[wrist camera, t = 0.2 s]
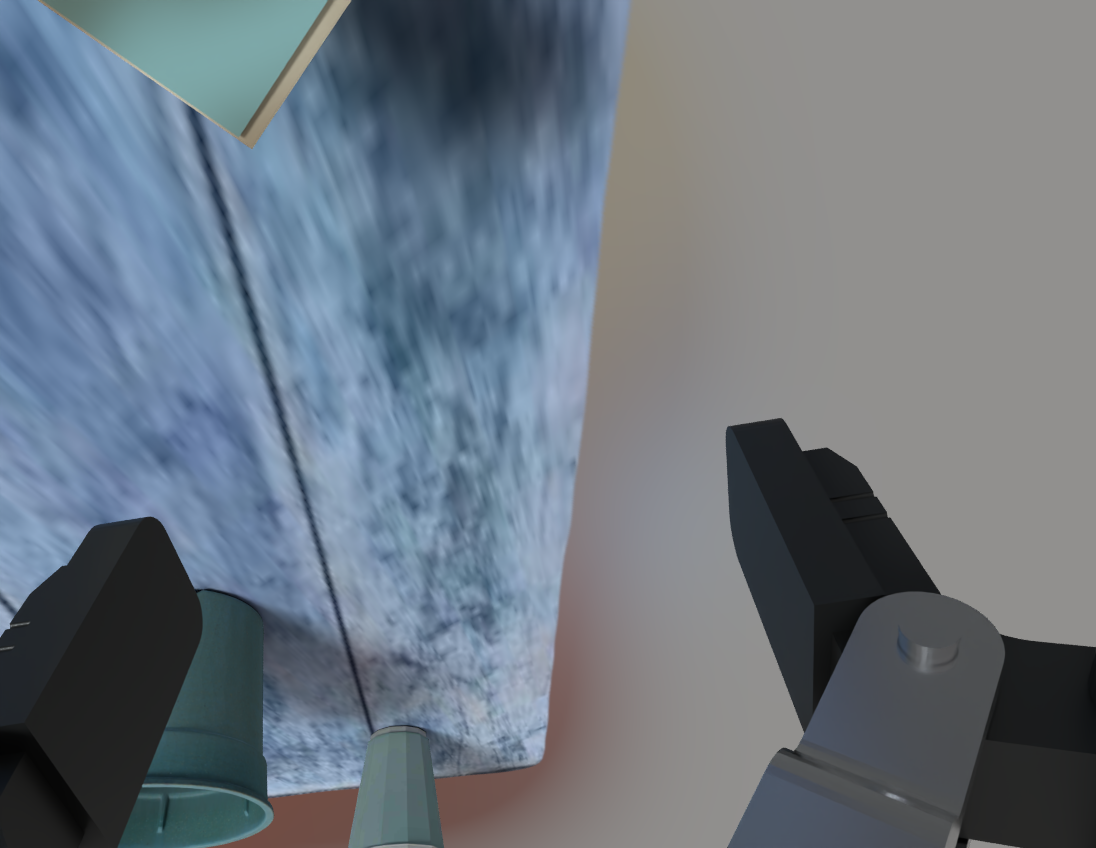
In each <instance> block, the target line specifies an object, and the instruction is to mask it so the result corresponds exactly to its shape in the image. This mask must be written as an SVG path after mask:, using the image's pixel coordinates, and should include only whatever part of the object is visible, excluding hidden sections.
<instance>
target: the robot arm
mask: <svg viewBox="0 0 1096 848" xmlns="http://www.w3.org/2000/svg"><path fill="white" fill-rule="evenodd" d="M726 455H727V475H728V494H729V514H730V524H731V531H732V536H733V541H734V546H735V550H736V554H737V557H738V560H739V563H740V565H741V568H742V571H743V573H744V576H745V578H746V581H747V584H748V587H749V589H750V592H751V594H752V597H753V599H754V602H755V605H756V607H757V610H758V613H759V615H760V618H761V620H762V623H763V626H764V629H765V631H766V634H767V636H768V639H769V642H770V644H771V647H772V649H773V652H774V655H775V657H776V660H777V663H778V665H779V668H780V670H781V673H782V676H783V678H784V681H785V684H786V686H787V688H788V691H789V694H790V697H791V699H792V702H793V705H794V707H795V709H796V712H797V715H798V718H799V720H800V723H801V725H802V728H803V731H804V735H803V737H802V739H801V741H800V743H799V745H798V747H797V748H796V749H795V750H794V751H792V750H789V749H787V748H782V749H780V750H779V751H778V752H777V753H776V754H775V756H774V757H773V758H772V760H771V762H770V763H769V765H768V767H767V769H766V771H765V772H764V774H763V776H762V779H761V781H760V783H759V785H758V787H757V789H756V791H755V793H754V795H753V797H752V799H751V801H750V803H749V805H748V807H747V809H746V811H745V813H744V815H743V817H742V819H741V821H740V823H739V825H738V827H737V829H736V831H735V833H734V835H733V837H732V839H731V841H730V843H729V845H728V847H727V848H969V846H970V842H971V839H973V840H978V841H985V842H990V843H996V844H1002V845H1008V846H1015V847H1020V848H1096V647H1087V646H1078V645H1067V644H1056V643H1047V642H1036V641H1028V640H1022V639H1017V638H1013V637H1008V636H1004V635H1001V634H999V632H998V631H997V629H996V628H995V626H994V625H993V624H992V623H991V622H990V621H989V620H988V619H987V618H986V617H985V616H984V615H983V614H981V613H980V612H979V611H977V610H976V609H974V608H972V607H971V606H969V605H967V604H965V603H963V602H961V601H959V600H956V599H954V598H950V597H947V596H944V595H941V594H940V592H939V590H938V589H937V587H936V586H935V584H934V583H933V581H932V580H931V578H930V577H929V575H928V574H927V572H926V571H925V569H924V568H923V566H922V565H921V563H920V562H919V560H918V559H917V557H916V556H915V554H914V553H913V551H912V550H911V548H910V547H909V545H908V543H907V542H906V540H905V539H904V538H903V536H902V534H901V533H900V531H899V530H898V528H897V527H896V525H895V524H894V522H893V521H892V519H891V518H888V517H887V512H886V510H885V509H884V507H883V506H882V504H881V503H880V501H879V500H878V498H877V497H874V494H873V491H872V489H871V487H870V486H869V485H868V483H867V481H866V480H865V478H864V477H863V475H862V474H861V472H860V471H859V469H858V468H857V466H855V465H853V464H852V463H850V462H849V461H847V460H846V459H844V458H843V457H841V456H839V455H838V454H836V453H835V452H833V451H832V450H830V449H828V448H821V449H815V450H808V451H802V450H801V448H800V447H799V445H798V443H797V441H796V440H795V438H794V436H793V435H792V433H791V431H790V429H789V428H788V426H787V424H786V423H785V421H784V420H783V419H782V418H778V419H772V420H765V421H759V422H753V423H747V424H740V425H734V426H728V427H727V430H726ZM202 629H203V616H202V609H201V604H200V601H199V598H198V596H197V593H196V591H195V589H194V587H193V585H192V583H191V581H190V579H189V577H188V575H187V573H186V571H185V569H184V567H183V565H182V563H181V561H180V559H179V557H178V554H177V552H176V550H175V548H174V546H173V544H172V542H171V540H170V538H169V536H168V534H167V532H166V530H165V528H164V526H163V525H162V524H161V522H160V521H158V520H157V519H156V518H154V517H144V518H138V519H131V520H125V521H119V522H112V523H106V524H100V525H96V526H94V527H93V528H92V529H91V530H90V531H89V532H88V534H87V535H86V537H85V539H84V540H83V542H82V543H81V545H80V546H79V548H78V549H77V551H76V552H75V554H74V555H73V557H72V558H71V560H70V562H69V563H68V565H67V566H62V567H60V568H59V569H58V570H57V571H56V572H55V573H54V574H52V575H51V576H50V577H49V578H48V579H47V580H46V581H44V582H43V583H42V584H41V585H40V586H39V587H37V588H36V589H35V590H34V591H33V592H32V593H31V594H30V595H29V596H28V598H27V599H26V601H25V602H24V603H23V605H22V606H21V608H20V609H19V611H18V612H17V614H16V615H15V617H14V618H13V620H12V621H11V623H10V629H7V630H5V631H4V633H3V634H2V636H1V637H0V848H117V847H118V845H119V842H120V840H121V837H122V835H123V832H124V830H125V827H126V825H127V822H128V820H129V817H130V815H131V812H132V810H133V808H134V805H135V803H136V800H137V798H138V795H139V793H140V790H141V788H142V785H143V783H144V780H145V778H146V775H147V773H148V770H149V768H150V765H151V763H152V760H153V758H154V755H155V753H156V750H157V748H158V745H159V743H160V740H161V738H162V735H163V733H164V730H165V728H166V725H167V723H168V720H169V718H170V715H171V713H172V710H173V708H174V705H175V703H176V700H177V698H178V695H179V693H180V690H181V688H182V685H183V683H184V680H185V678H186V675H187V673H188V670H189V668H190V665H191V663H192V660H193V658H194V655H195V653H196V650H197V648H198V645H199V643H200V640H201V636H202Z"/></svg>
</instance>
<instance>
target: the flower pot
mask: <svg viewBox="0 0 1096 848" xmlns="http://www.w3.org/2000/svg"><path fill="white" fill-rule="evenodd" d="M197 596H198V598H199V601H200V604H201V609H202V616H203V629H202V636H201V640H200V643H199V645H198V648H197V650H196V653H195V655H194V658H193V660H192V663H191V665H190V668H189V670H188V673H187V675H186V678H185V680H184V683H183V685H182V688H181V690H180V693H179V695H178V698H177V700H176V703H175V705H174V708H173V710H172V713H171V715H170V718H169V720H168V723H167V725H166V728H165V730H164V733H163V735H162V738H161V740H160V743H159V745H158V748H157V750H156V753H155V755H154V758H153V760H152V763H151V765H150V768H149V770H148V773H147V775H146V778H145V780H144V783H143V785H142V788H141V790H140V793H139V795H138V798H137V800H136V803H135V805H134V808H133V810H132V812H131V815H130V817H129V820H128V822H127V825H126V827H125V830H124V832H123V835H122V837H121V840H120V842H119V845H118V847H117V848H206V847H212V846H217V845H222V844H226V843H230V842H233V841H238V840H241V839H244V838H247V837H249V836H252V835H254V834H256V833H258V832H260V831H261V830H263V829H264V828H266V827H267V826H268V825H269V824H270V823H271V822H272V820H273V818H274V812H273V808H272V805H271V804H270V802H269V801H268V797H267V763H266V760H265V758H264V756H263V639H264V629H263V621H262V618H261V617H260V615H259V614H258V613H257V612H256V611H255V610H254V609H253V608H252V607H250V606H249V605H247V604H246V603H244V602H242V601H240V600H238V599H236V598H233V597H231V596H228V595H225V594H221V593H217V592H212V591H207V590H202V591H200V592H198V593H197Z"/></svg>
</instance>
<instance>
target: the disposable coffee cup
mask: <svg viewBox="0 0 1096 848" xmlns="http://www.w3.org/2000/svg"><path fill="white" fill-rule="evenodd" d="M348 848H444V845H443V838H442V831H441V824H440V818H439V811H438V803H437V796H436V789H435V781H434V774H433V767H432V760H431V753H430V746H429V739H428V738H427V737H426V732H424V731H422V730H421V729H419V728H415V727H408V726H396V727H388V728H384V729H381V730H378V731H376V732H375V733H374V734H372V735H371V740H370V741H369V742H368V746H367V751H366V757H365V762H364V767H363V772H362V778H361V783H360V788H359V794H358V799H357V804H356V810H355V815H354V820H353V825H352V831H351V836H350V841H349V847H348Z"/></svg>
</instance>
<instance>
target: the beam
mask: <svg viewBox="0 0 1096 848" xmlns="http://www.w3.org/2000/svg"><path fill="white" fill-rule="evenodd" d="M38 1H39V2H41V3H42V4H44V5H45V6H47V7H48V8H49V9H51V10H52V11H54V12H55V13H57V14H58V15H59V16H61V17H62V18H64V19H65V20H67V21H68V22H70V23H71V24H72V25H74V26H75V27H77V28H78V29H80V30H81V31H83V32H84V33H85V34H87V35H88V36H90V37H91V38H93V39H94V40H95V41H97V42H98V43H100V44H101V45H103V46H104V47H106V48H107V49H108V50H110V51H111V52H113V53H114V54H116V55H117V56H119V57H120V58H121V59H123V60H124V61H126V62H127V63H129V64H130V65H131V66H133V67H134V68H136V69H137V70H139V71H140V72H142V73H143V74H144V75H146V76H147V77H149V78H150V79H152V80H153V81H155V82H156V83H157V84H159V85H160V86H162V87H163V88H165V89H166V90H167V91H169V92H170V93H172V94H173V95H175V96H176V97H178V98H179V99H180V100H182V101H183V102H185V103H186V104H188V105H189V106H191V107H192V108H193V109H195V110H196V111H198V112H199V113H201V114H202V115H203V116H205V117H206V118H208V119H209V120H211V121H212V122H214V123H215V124H216V125H218V126H219V127H221V128H222V129H224V130H225V131H226V132H228V133H229V134H231V135H232V136H234V137H235V138H237V139H238V140H239V141H241V142H242V143H244V144H245V145H247V146H248V147H250V148H251V149H252V148H253V147H254V145H255V144H256V142H257V141H258V139H259V138H260V136H261V135H262V133H263V132H264V130H265V129H266V127H267V126H268V124H269V123H270V121H271V120H272V118H273V117H274V115H275V114H276V112H277V111H278V109H279V108H280V106H281V105H282V103H283V102H284V100H285V99H286V97H287V96H288V94H289V93H290V91H291V90H292V88H293V87H294V85H295V84H296V82H297V81H298V79H299V78H300V76H301V75H302V73H303V72H304V70H305V69H306V67H307V66H308V64H309V63H310V61H311V60H312V58H313V57H314V56H315V54H316V53H317V51H318V50H319V48H320V47H321V45H322V44H323V42H324V41H325V39H326V38H327V36H328V35H329V33H330V32H331V30H332V29H333V27H334V26H335V24H336V23H337V21H338V20H339V18H340V17H341V15H342V14H343V12H344V11H345V9H346V8H347V6H348V5H349V3H350V2H351V0H38Z"/></svg>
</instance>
